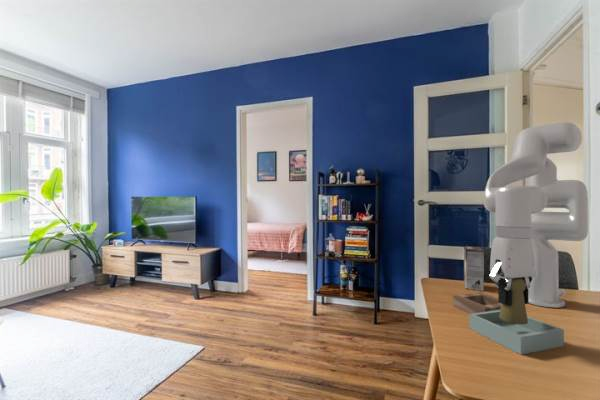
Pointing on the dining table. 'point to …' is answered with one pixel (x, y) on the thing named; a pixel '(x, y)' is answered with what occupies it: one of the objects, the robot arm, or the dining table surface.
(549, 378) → the dining table surface
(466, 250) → the coffee box
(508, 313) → the cork
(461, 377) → the dining table surface
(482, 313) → the tray
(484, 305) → the socket
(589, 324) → the dining table surface
